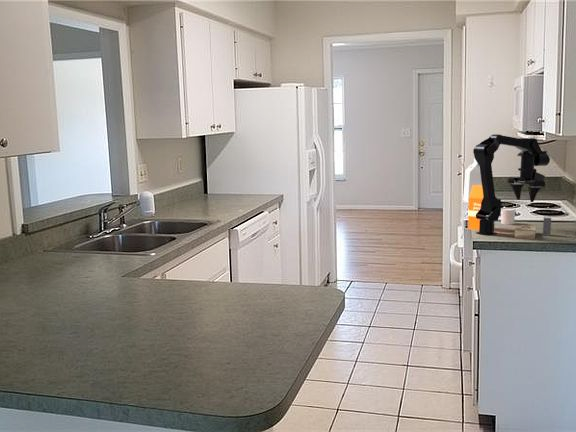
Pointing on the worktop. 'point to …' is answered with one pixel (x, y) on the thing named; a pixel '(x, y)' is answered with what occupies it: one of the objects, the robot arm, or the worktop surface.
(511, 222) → the white cylinder
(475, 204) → the orange juice
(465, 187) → the milk
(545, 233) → the square bit
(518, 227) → the socket block
